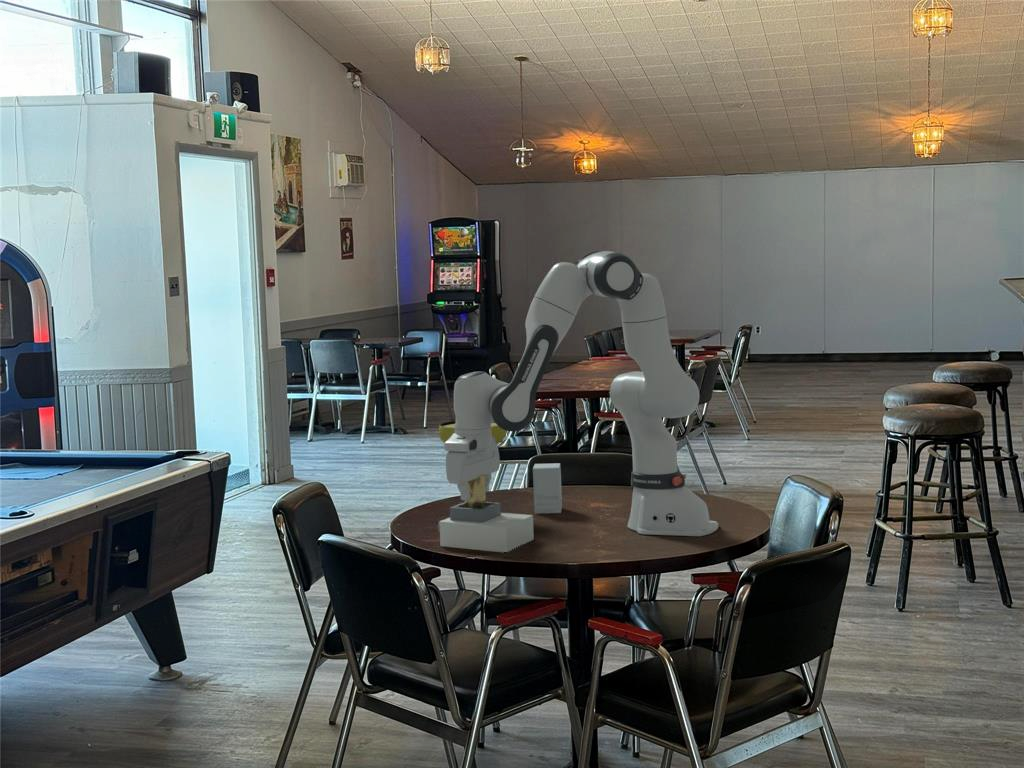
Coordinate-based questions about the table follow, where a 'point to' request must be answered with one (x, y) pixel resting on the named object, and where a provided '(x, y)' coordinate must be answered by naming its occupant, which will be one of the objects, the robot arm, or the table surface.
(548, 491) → the supplement box
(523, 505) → the table surface
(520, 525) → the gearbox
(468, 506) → the spout can
